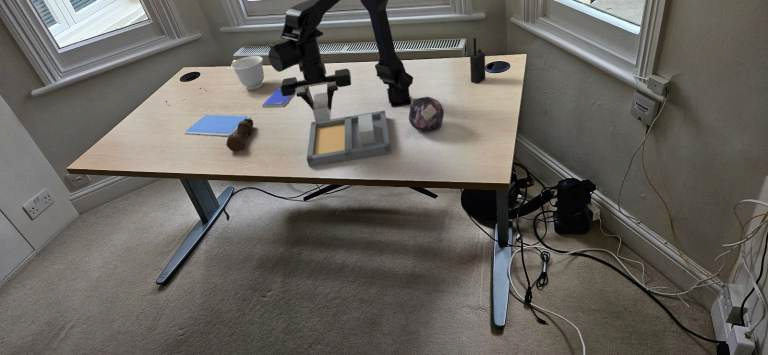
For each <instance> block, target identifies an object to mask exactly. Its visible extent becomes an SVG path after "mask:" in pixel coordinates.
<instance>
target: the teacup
mask: <svg viewBox="0 0 768 355" xmlns="http://www.w3.org/2000/svg"><path fill="white" fill-rule="evenodd" d="M263 61H264V58H263V57H262V56H259V55H251V56H246V57H242V58H239V59H237V60H236V59H234V60H232V62H231V65H230V67H231V68H232V70H234V71H235V74H236V75H237V76H236V77H237V78H238V80H239V82H240V83H241V84H242V85H243V86H245V87H247V90H257V89H259V88H261V87H262V86H263V83H262V82H263V81H264V79H265V74H264V69H263V68H264V67H263Z"/></svg>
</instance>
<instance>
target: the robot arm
mask: <svg viewBox="0 0 768 355" xmlns="http://www.w3.org/2000/svg"><path fill="white" fill-rule="evenodd" d="M340 1H341V0H307V1H303V2H300V3H297V4H295V5H293V6H291V7H289V8H288V9H287V11H286V12H285V21H284V25H283V27H282V28H283V29H282V32H281V34H280V39H282V40H280V41H277V42H273V43H270V44H269V47H270V49H269V51H268V60H269V62H270V65H271V66H272V68H273V69H274V70H275V71H276V72H279V73H281V72H283V71H285V70H288V69H290V68H292V67H294V66H296V65H298V69H299V72H300V73H302V75H303V79H301V80H298V78H297V77H296V76H294V77H287V78H283V79H282V81H281V83H280V88H279V89H281V93H282V96H289V95H293V96H295V94H296V97H297V98H299V97H300V98H302V100H303V101H305V103H306V104H307V105H308V106H309V108H310V109H312V111H313V103H314V98H313V97H312V94H311V91H310V87H315V86H322V85H326V86H327V87H326V92H327V95H328V104H329V108H330V110H331V111H332V107H333V106H332V105H333V97H334V94H335V92H338V90H339V88H343V87H348V86H351V85H352V76H351V71H350V69H349V68H341V69H336V70H334V74H331V75H327V69H326V65H325V61H324V59H323V58H322V55H321V51H320V50H321V49H320V46H319V42H318V38H319V37H322V36H323V35H324V32H322V31H320V30H319V29H318V28H317V27H319V26H320V24H321V23H322V19H323V16H324V15H325V14H326V13H327V12H328V11H330V10H331V9H332V8H333V7H334V6H336V5H337V4H338V3H339V2H340ZM359 2H360V3H361V4H362V6H363V7H364V9H366V10H367V12H368V16H369V18H370V22H371V23H370V24H371V26H372V30H373V31H372V32H373V35H374V38H375V42H376V47H377V50H378V55H379V59H378V63H376V64H375V65H374V68H375V72H376V77H378V79H379V80H381V81H382V83H383V85H388V87H387V88H386V90H387V91H386V92H387V97H388V102H389V104H390V106H391V107H393V108H394V107H399V106H406V105H411V102H412V100H411V96H410V87H411V85H413V81H414V77H413V76H412V75H411V74H409V73H408V72H406V68H405V66H404V63H403V61H402V60H401V59H400V58H399V56H398V55H397V53H396V50H395V45H394V44H395V43H394V40H393V34H392V30H391V26H390V22H389V18H388V13H387V7H388V6H387V5H388V3H389V0H360V1H359ZM294 32H298V33H294ZM295 89H296V90H295ZM295 92H296V93H295ZM294 93H295V94H294Z"/></svg>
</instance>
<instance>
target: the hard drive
mask: <svg viewBox="0 0 768 355" xmlns="http://www.w3.org/2000/svg"><path fill="white" fill-rule="evenodd" d="M295 90H296V89H295ZM295 94H297V92H295V93H294V95H295ZM294 95H289V96H282V93H281V89H280V88H277V89H275V90H274V92H272V94H271V95H269V97H268V98H267V99H266V100H265V101H264V102H263V104H262V105H261V106H262V108H273V107H274V108H276V107H277V108H281V107H282V108H284V107H285V106H286V105H287V103H288V102H290V100H291V99H292V97H293V96H294Z"/></svg>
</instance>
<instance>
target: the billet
mask: <svg viewBox="0 0 768 355" xmlns="http://www.w3.org/2000/svg"><path fill="white" fill-rule="evenodd" d="M313 102H314V103H313V110H312V113H313V117H314V122H316V123H320V122H326V121H330V119H332V117H331V114H332V109H331V110H330V108H329V104H328V95H327V91H326V92H320V93H314V95H313Z"/></svg>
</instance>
